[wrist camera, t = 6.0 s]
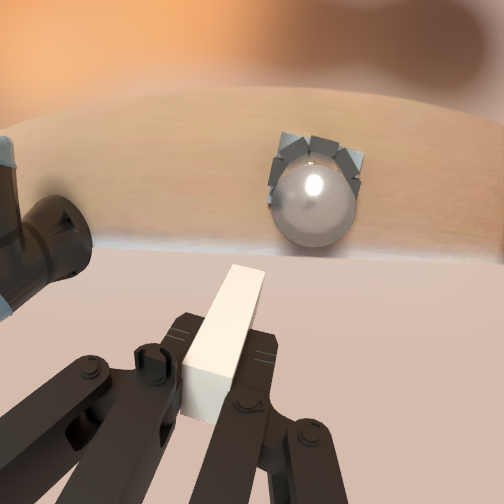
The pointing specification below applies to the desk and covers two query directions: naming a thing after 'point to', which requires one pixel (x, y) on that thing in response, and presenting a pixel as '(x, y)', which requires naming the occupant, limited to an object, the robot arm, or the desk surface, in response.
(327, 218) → the silver metal cylinder
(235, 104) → the desk surface
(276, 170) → the ring
